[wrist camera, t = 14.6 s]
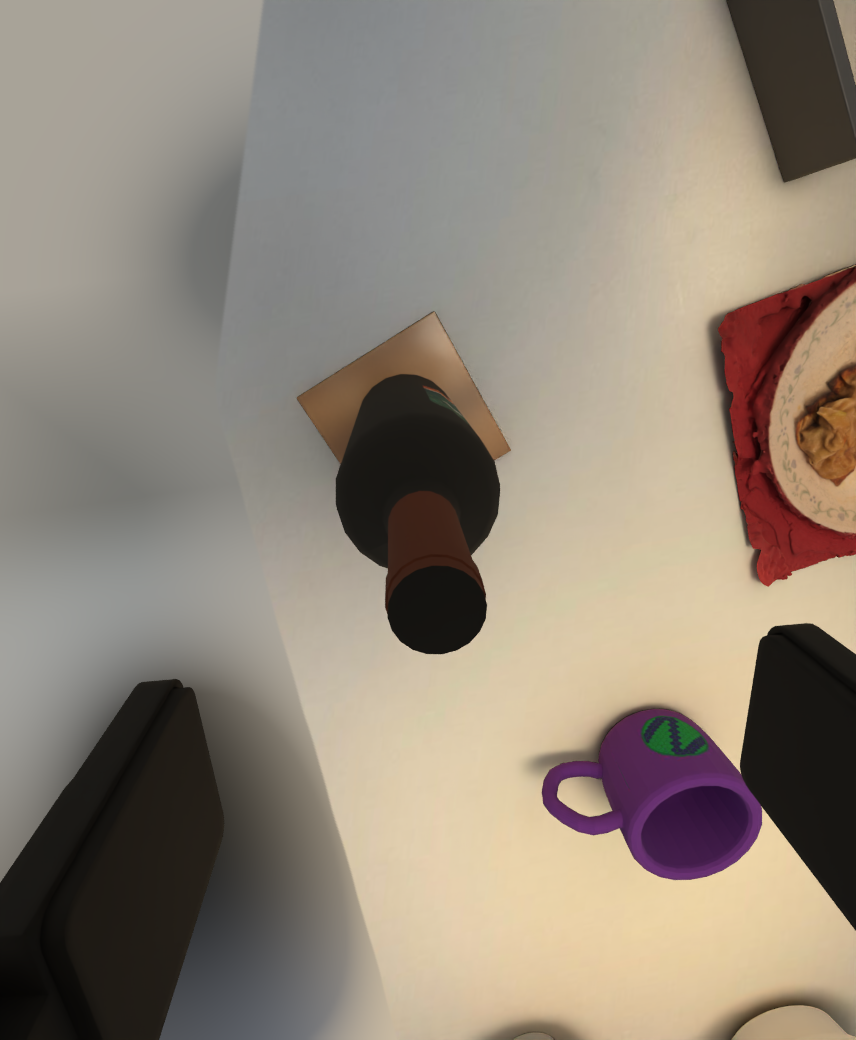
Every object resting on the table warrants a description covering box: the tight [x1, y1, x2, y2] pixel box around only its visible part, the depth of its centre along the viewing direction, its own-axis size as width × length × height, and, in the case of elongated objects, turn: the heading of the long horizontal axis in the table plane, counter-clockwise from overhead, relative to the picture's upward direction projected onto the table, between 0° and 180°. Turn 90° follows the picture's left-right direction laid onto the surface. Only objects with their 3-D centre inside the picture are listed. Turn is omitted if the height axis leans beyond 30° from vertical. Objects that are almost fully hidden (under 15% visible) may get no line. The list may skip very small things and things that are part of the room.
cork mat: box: [297, 312, 511, 464], centre depth 44 cm, size 12×12×1 cm
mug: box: [542, 709, 762, 880], centre depth 52 cm, size 17×11×10 cm, turn 93°
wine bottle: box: [336, 374, 500, 654], centre depth 30 cm, size 8×8×30 cm
